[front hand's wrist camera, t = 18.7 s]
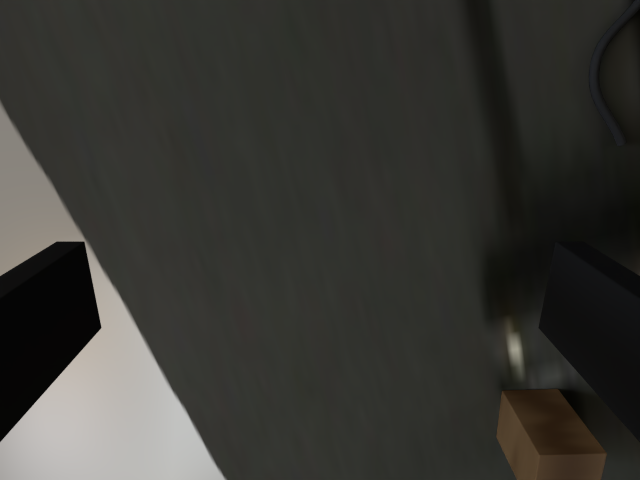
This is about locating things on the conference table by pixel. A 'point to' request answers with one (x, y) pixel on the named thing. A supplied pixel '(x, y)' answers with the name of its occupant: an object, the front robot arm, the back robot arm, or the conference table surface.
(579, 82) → the conference table surface
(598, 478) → the brick
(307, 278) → the conference table surface
